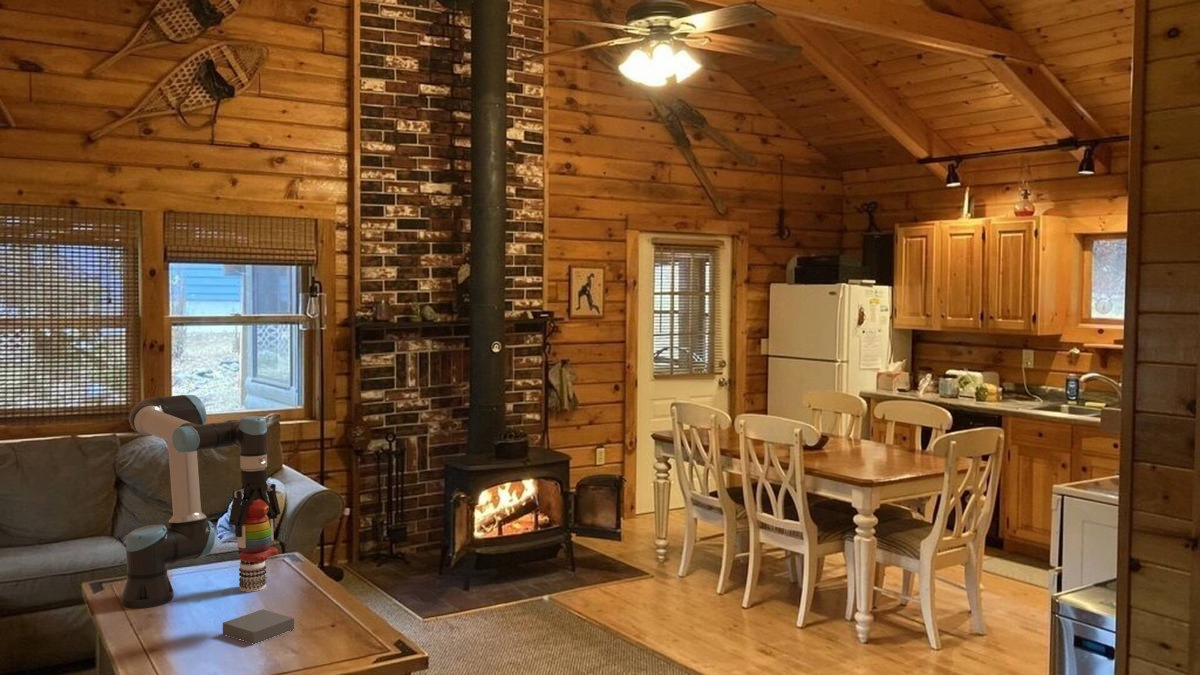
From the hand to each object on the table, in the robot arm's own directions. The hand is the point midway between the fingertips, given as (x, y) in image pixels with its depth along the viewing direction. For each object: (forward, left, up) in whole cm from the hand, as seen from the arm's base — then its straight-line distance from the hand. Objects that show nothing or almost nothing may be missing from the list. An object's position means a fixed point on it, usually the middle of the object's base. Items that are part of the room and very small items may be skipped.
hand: (255, 543), depth 292 cm
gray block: (+7, -5, -25) cm, 26 cm away
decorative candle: (-29, +21, -24) cm, 44 cm away
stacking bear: (0, 0, -4) cm, 4 cm away
